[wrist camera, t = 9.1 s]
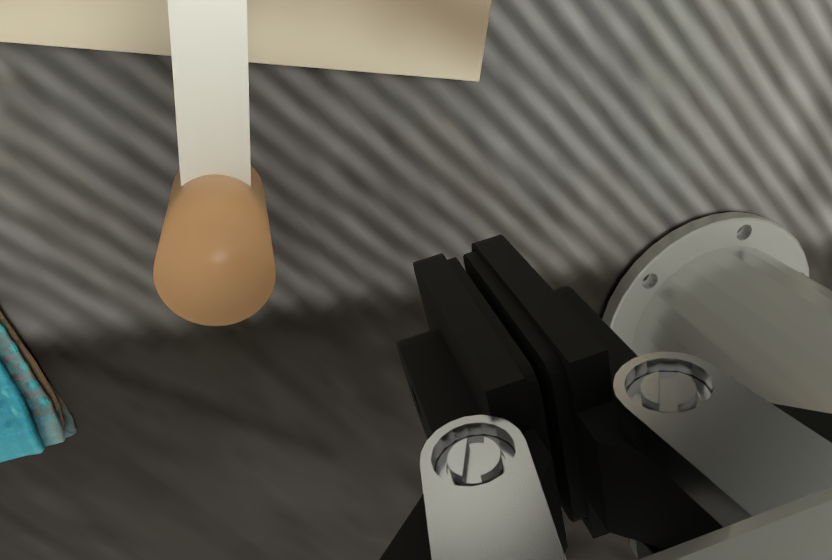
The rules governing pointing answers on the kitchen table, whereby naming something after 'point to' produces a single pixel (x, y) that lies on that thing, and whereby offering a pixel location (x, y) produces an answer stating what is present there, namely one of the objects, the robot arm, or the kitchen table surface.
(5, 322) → the dish towel
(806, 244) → the kitchen table surface
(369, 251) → the kitchen table surface
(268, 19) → the post board
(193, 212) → the crank handle
